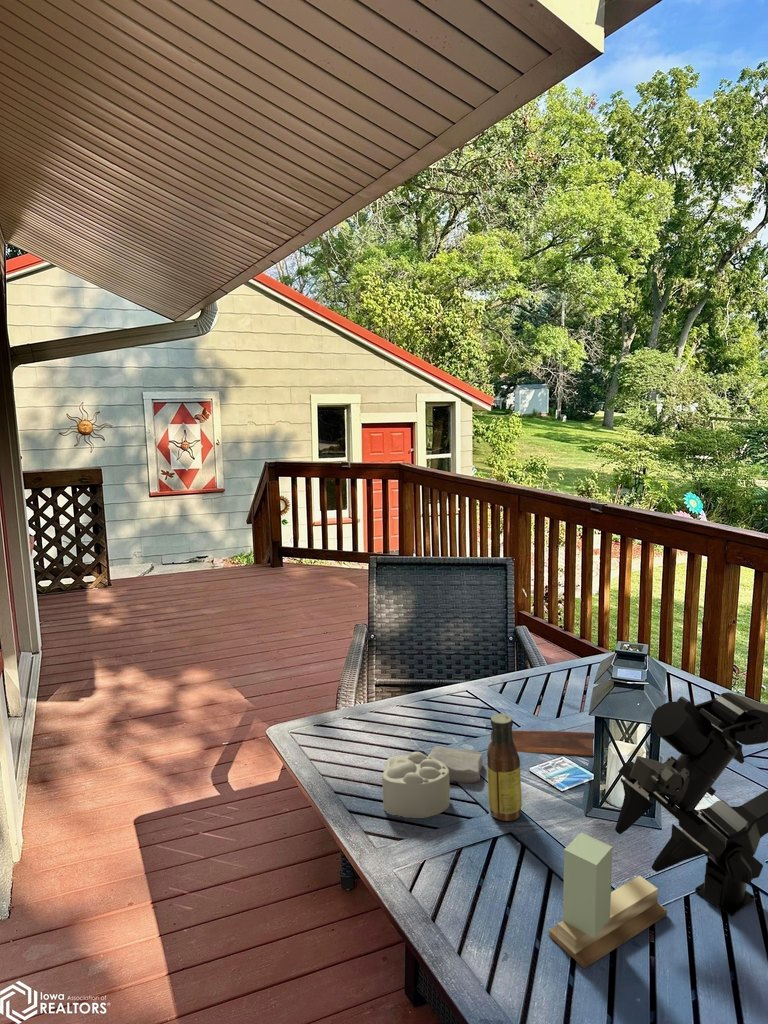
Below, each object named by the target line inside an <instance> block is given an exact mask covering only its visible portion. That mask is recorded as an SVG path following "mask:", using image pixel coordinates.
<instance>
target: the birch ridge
mask: <svg viewBox="0 0 768 1024" xmlns="http://www.w3.org/2000/svg"><path fill="white" fill-rule="evenodd" d="M658 894H659V888H658V887H657V886H655V885H653V884H652V883H651V882H650V881H648V880H646V879H645V878H644V877H642V876H641V875H638V876H637V877H635V878H633V879H631V880H629V881H627V882H626V883H623V885H621V886H619V887H617V888H615V889H614V890H613V891H612V890H611V904H610V919H609V920H608V921H607V923H606V924H605V925H604V927H603V928H602V929H601V931H600V932H599V933H598V935H597V936H596V937H595V938H593V937H591V936H589V935H587V934H586V933H584V932H582V931H580V930H578V929H577V928H575V927H573V926H571V925H569V924H568V923H566V922H564V921H563V920H561V921H559V922H558V923H557V925H555V926H554V927H552V928H550V929H549V930H548V936H549V938H551V940H553V942H555V943H556V944H557V945H558V946H560V947H561V948H562V949H563V950H564V952H566V953H567V954H568V955H569V956H570V957H571V958H572V959H574V960H575V962H577V963H578V964H579V965H580V967H582V968H583V969H586V968H588V967H589V966H590V965H593V964H594V963H596V962H597V961H598V960H600V959H601V958H603V957H604V956H606V955H608V954H609V953H611V952H612V951H614V950H616V949H617V948H618V947H620V946H622V945H623V944H625V943H626V942H628V941H629V940H631V939H632V938H634V937H635V936H636V935H638V934H640V933H641V932H643V931H644V930H646V929H648V928H650V927H651V926H652V925H654V924H655V923H657V922H659V921H660V920H661V919H663V918H665V917H666V916H667V914H668V910H667V909H666V908H665V906H663V905H661V904H660V903H658V897H659V896H658Z"/></svg>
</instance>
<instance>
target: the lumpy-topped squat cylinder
mask: <svg viewBox="0 0 768 1024" xmlns="http://www.w3.org/2000/svg"><path fill="white" fill-rule="evenodd" d="M381 779H382V781H381V782H382V783H381V785H382V802H383V803H382V808H383V807H384V808H383V810H384V809H385V810H386V811H387V812H389V813H391V814H394V815H399V816H398V817H400V816H403V817H402V818H410V817H411V818H410V819H412V818H413V819H416V818H417V819H424V818H429V817H434V816H436V815H439V814H441V813H443V812H444V811H446V810H448V808H449V807H450V805H451V797H450V795H451V794H450V791H451V789H450V788H451V786H450V781H449V769H448V768H447V766H446V765H445V764H443V763H442V762H440V761H438V760H436V759H433V758H431V757H427V756H426V755H425V754H424V753H423V752H421V751H412V752H411V753H409V754H402V755H401V754H400V755H394V756H391V757H389V758H388V759H386V761H385V768H384V771H383V772H382V775H381ZM387 812H386V813H387ZM394 815H393V816H394Z"/></svg>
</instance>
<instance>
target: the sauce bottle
mask: <svg viewBox="0 0 768 1024" xmlns="http://www.w3.org/2000/svg"><path fill="white" fill-rule="evenodd" d="M513 723H514V722H513V718H512V716H510V715H509V714H507V713H496V714H493V715H492V716H491V717H490V725H491V730H492V731H491V732H492V740H491V741H490V743H489V744H488V747H487V751H486V756H487V757H486V758H487V760H486V761H487V764H486V766H487V771H486V772H487V789H488V790H487V791H488V806H489V808H490V809H489V811H490V814H491V816H492V817H494V818H495V819H497V820H499V821H503V822H513V821H515V820H517V819H518V818H520V816H521V814H522V807H523V806H522V805H523V803H522V801H523V800H522V779H521V778H522V777H521V761H520V759H521V758H520V756H519V754H518V753H519V752H517V750H516V747H515V744H514V741H513V737H512V731H513V728H512V727H513V725H514V724H513Z"/></svg>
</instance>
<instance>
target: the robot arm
mask: <svg viewBox="0 0 768 1024" xmlns="http://www.w3.org/2000/svg"><path fill="white" fill-rule="evenodd" d="M650 725H651V729H652V730H653V732H654V734H656V735H657V736H658V737H660V738H661V739H662V740H664V741H665V742H666V743H667V745H670V747H672V748H673V749H674V750H676V752H678V753H679V754H680V755H679V757H678V758H675V757H673V756H672V755H671V756H670V757H668V758H667V759H666V761H665V762H660V761H658V760H656V759H652V758H648V757H644V756H639V755H638V756H636V758H635V760H634V761H629V762H628V761H627V762H625V763H624V764H623V765H622V766H621V768H620V769H619V770H618V772H617V773H619V774H620V775H621V776H622V777H623V778H624V779H623V778H622V777H620V782H621V783H622V788H623V792H624V794H623V795H624V796H623V800H622V801H623V802H622V805H621V809H620V813H619V815H618V819H617V822H616V826H615V829H614V831H615V832H616V833H617V834H619V835H622V834H623V833H624V832H626V831H627V830H628V829H630V828H631V827H632V826H633V825H634V824H635V823H636V822H637V821H638V820H639V819H640V818H641V817H643V816H644V815H645V814H646V813H647V812H648V811H649V810H650V809H651V808H652V807H653V806H654V805H655V804H654V803H653V802H652V801H651V800H655V801H656V802H657V803H658V804H659V805H661V806H662V807H663V808H664V809H665V810H666V811H667V812H669V813H670V814H671V815H672V816H673V817H675V819H676V820H678V826H679V827H680V828H681V829H680V828H679V827H678V826H676V825H675V824H674V823H672V825H671V836H670V838H669V840H668V841H667V843H666V844H665V845H664V847H663V848H662V850H661V851H660V852H659V854H658V855H657V857H656V858H655V859H654V861H653V863H652V864H651V870H653V871H654V872H656V873H659V872H661V871H663V870H665V869H668V868H671V867H673V866H675V865H678V864H679V863H682V862H685V861H687V860H690V859H693V858H696V857H699V856H703V855H704V856H706V857H707V859H706V862H705V870H704V871H705V873H704V880H703V881H704V882H702V883H701V884H700V885H698V886H696V887H695V888H694V890H695V892H696V894H698V895H699V896H701V898H703V899H705V900H706V901H708V902H709V903H710V904H712V905H713V906H715V907H716V908H718V909H719V910H721V911H722V912H724V913H726V914H727V915H728V916H731V917H733V916H735V915H736V914H738V913H739V912H740V911H742V910H744V909H746V907H748V906H749V905H751V904H752V903H753V902H755V900H756V897H755V895H753V894H752V893H750V892H749V891H747V884H752V881H753V879H756V878H757V879H758V878H759V877H760V875H761V873H762V871H763V867H764V864H763V863H761V862H760V861H759V860H758V859H757V858H755V854H756V852H757V849H758V846H759V843H760V841H761V838H763V837H764V836H765V835H767V834H768V789H767V790H765V791H764V792H762V793H760V794H758V795H756V796H754V797H753V798H751V799H749V800H747V801H746V802H744V803H743V804H741V805H739V806H730V805H729V804H728V803H727V802H726V801H724V800H723V799H720V800H716V801H715V802H714V803H712V804H710V805H709V806H708V807H706V808H701V809H699V811H700V812H699V811H698V810H697V809H695V808H697V807H698V805H699V803H700V802H701V801H702V800H703V799H704V797H705V796H706V795H707V794H708V795H709V796H711V797H713V796H714V795H715V793H716V792H717V790H715V789H714V788H713V787H712V786H713V785H714V784H715V782H716V781H717V780H718V778H719V777H720V776H721V774H722V773H723V772H724V770H726V768H727V766H728V765H729V764H730V763H731V761H732V760H735V761H736V762H738V763H739V764H744V763H745V757H744V754H743V746H753V745H759V744H767V743H768V704H765V703H762V702H759V701H756V700H753V699H751V698H748V697H745V696H743V695H740V694H737V693H736V694H735V693H733V692H722V693H720V694H719V695H718V697H715V698H713V699H710V700H707V701H704V702H702V703H699V704H696V705H695V704H694V703H693V702H691V701H689V699H686V698H685V697H684V696H680V697H679V698H678V699H677V700H676V701H669V702H664V703H663V704H662V705H659V706H658V707H657V708H656V709H654V712H653V713H652V716H651V719H650ZM665 797H666V798H668V799H666V798H665ZM648 798H650V799H651V800H650V799H648ZM677 808H678V809H677Z"/></svg>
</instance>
